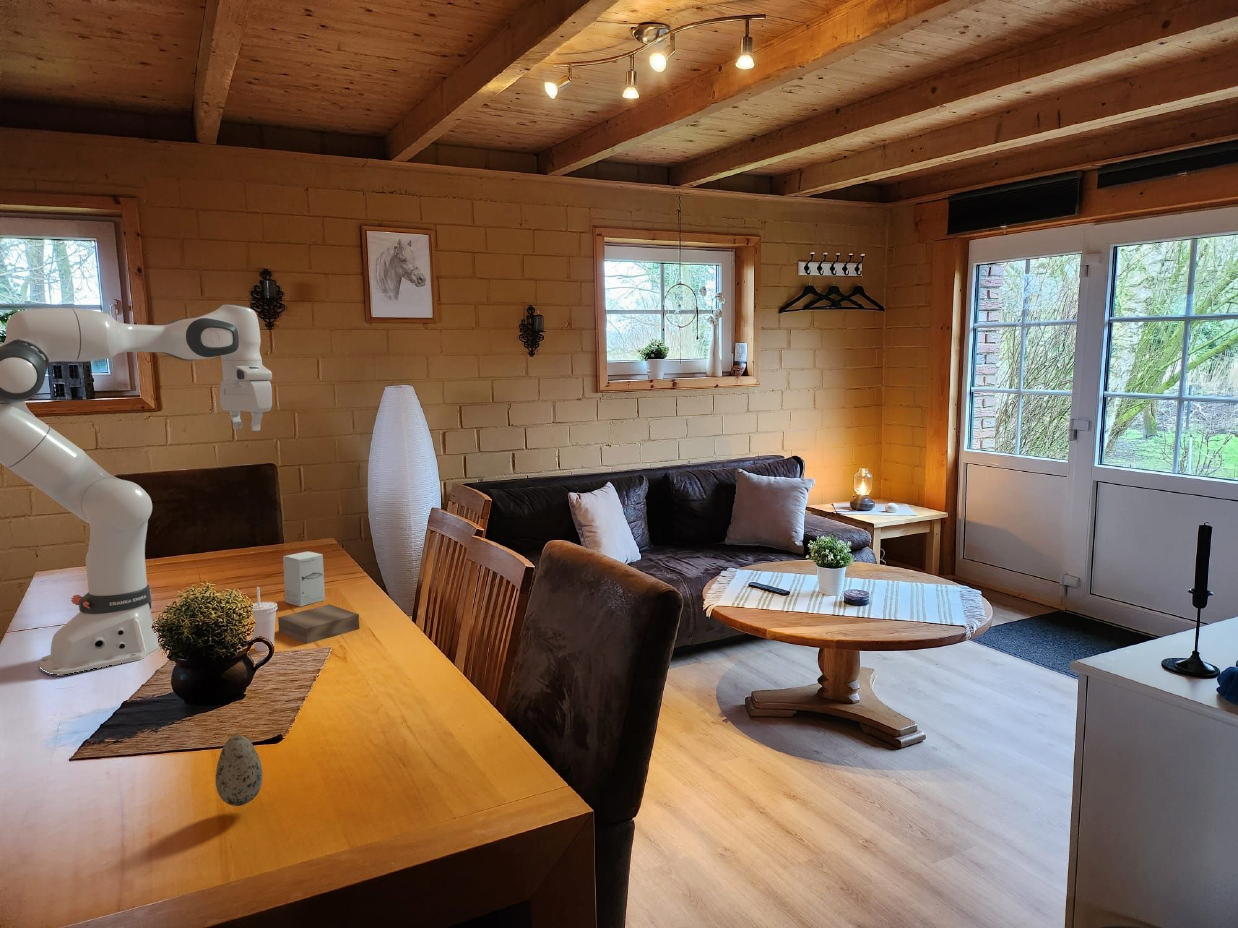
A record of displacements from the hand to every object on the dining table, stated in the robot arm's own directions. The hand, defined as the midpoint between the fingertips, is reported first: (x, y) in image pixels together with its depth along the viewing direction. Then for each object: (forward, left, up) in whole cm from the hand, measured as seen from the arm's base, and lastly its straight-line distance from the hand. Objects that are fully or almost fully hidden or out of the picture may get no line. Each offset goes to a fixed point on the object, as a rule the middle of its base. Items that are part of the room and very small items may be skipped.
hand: (246, 429), depth 196 cm
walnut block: (+3, -25, -47) cm, 53 cm away
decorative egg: (-43, -87, -47) cm, 107 cm away
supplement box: (+13, 0, -47) cm, 48 cm away
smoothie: (-11, -27, -46) cm, 55 cm away
